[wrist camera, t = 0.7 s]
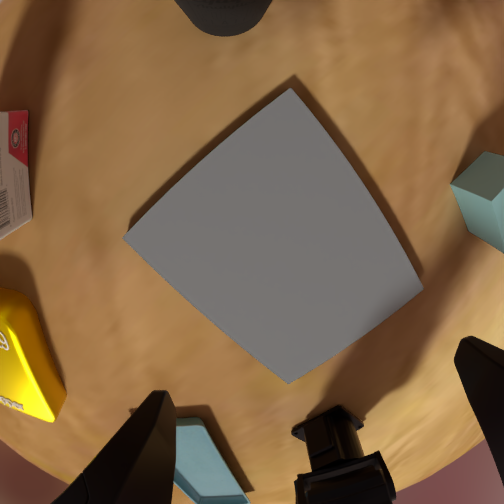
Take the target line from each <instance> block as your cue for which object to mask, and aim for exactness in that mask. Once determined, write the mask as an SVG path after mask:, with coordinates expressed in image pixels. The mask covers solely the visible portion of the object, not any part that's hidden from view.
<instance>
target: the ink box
mask: <svg viewBox="0 0 504 504" xmlns="http://www.w3.org/2000/svg"><path fill="white" fill-rule="evenodd" d="M31 219H32V210H31V201H30V189H29V175H28V110H20V111H6V112H0V240H1V239H2V238H4V237H5V236H7V235H8V234H10V233H11V232H13V231H14V230H16V229H18V228H19V227H21V226H22V225H24V224H25V223H27V222H28V221H30V220H31Z"/></svg>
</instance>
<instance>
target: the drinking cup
mask: <svg viewBox="0 0 504 504" xmlns="http://www.w3.org/2000/svg"><path fill="white" fill-rule="evenodd" d="M271 1H272V0H175V2H176V3H177V4H178V5H179V6H180V8H181V9H182V10H183V11H184V13H185V14H186V15H187V16H188V18H189V19H190V20H191V21H192V23H193V24H194V25H195V26H196V27H197V28H199V29H200V30H202V31H203V32H205V33H208V34H211V35H215V36H234V35H238V34H241V33H244V32H246V31H248V30H250V29H251V28H253V27H254V26H255V25H256V24H257V23H258V22H259V21H260V20H261V18H262V17H263V15H264V13H265V11H266V10H267V8H268V6H269V5H270V3H271Z"/></svg>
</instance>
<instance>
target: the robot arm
mask: <svg viewBox="0 0 504 504" xmlns="http://www.w3.org/2000/svg"><path fill="white" fill-rule="evenodd" d="M454 364H455V367H456V369H457V372H458V374H459V377H460V379H461V382H462V384H463V387H464V390H465V393H466V395H467V398H468V400H469V403H470V405H471V407H472V409H473V411H474V413H475V416H476V418H477V420H478V422H479V424H480V427H481V429H482V431H483V434H484V436H485V438H486V441H487V443H488V446H489V448H490V451H491V453H492V455H493V458H494V461H495V463H496V466H497V469H498V472H499V474H500V477H501V480H502V483H503V486H504V350H502V349H500V348H498V347H496V346H493V345H491V344H489V343H487V342H485V341H483V340H481V339H478V338H476V337H474V336H468V337H465V338H463V339H461V341H460V343H459V346H458V348H457V351H456V354H455V357H454ZM176 416H177V415H176V408H175V406H174V404H173V401H172V399H171V397H170V395H169V393H168V391H166V390H154V391H152V392H151V393H150V394H149V395H148V397H147V398H146V399H145V400H144V401H143V402H142V404H141V405H140V406H139V407H138V408H137V409H136V411H135V412H134V413H133V414H132V415H131V416H130V417H129V419H128V420H127V421H126V422H125V423H124V424H123V426H122V427H121V428H120V429H119V430H118V431H117V432H116V434H115V435H114V436H113V437H112V438H111V439H110V441H109V442H108V443H107V444H106V445H105V446H104V447H103V449H102V450H101V451H100V452H99V453H98V454H97V455H96V456H95V458H94V459H93V460H92V461H91V462H90V463H89V464H88V466H87V467H86V468H85V469H84V470H83V473H80V474H79V476H78V477H77V478H76V479H75V480H74V481H73V482H72V483H71V484H70V485H69V487H68V488H67V489H66V490H65V491H64V492H63V493H62V494H61V495H59V496H58V497H57V498H56V499H55V500H54V501H53V502H52V503H51V504H171V501H172V491H173V483H174V474H175V466H176ZM362 427H364V424H363V422H362V421H361V420H359V419H358V418H357V417H355V416H354V415H353V414H351V413H350V412H349V411H348V410H346V409H345V408H344V407H342V406H336V407H334V408H333V409H331V410H329V411H327V412H325V413H324V414H322V415H320V416H318V417H316V418H314V419H312V420H310V421H309V422H307V423H305V424H303V425H301V426H299V427H297V428H295V429H293V430H292V431H291V434H292V435H293V436H295V437H296V438H298V439H300V440H302V441H304V442H306V446H307V451H308V456H309V460H310V465H311V470H312V472H309V473H305V474H297V477H298V479H297V480H295V481H294V485H295V492H296V504H392V501H394V500H396V491H395V487H394V483H393V480H392V477H391V475H390V473H389V471H388V469H387V466H386V464H385V462H384V460H383V458H382V456H381V453H380V451H376V452H374V453H373V454H370V455H367V456H364V453H363V450H362V447H361V444H360V441H359V438H358V435H357V432H356V431H357V430H359V429H361V428H362Z"/></svg>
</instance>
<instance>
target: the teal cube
mask: <svg viewBox="0 0 504 504" xmlns="http://www.w3.org/2000/svg"><path fill="white" fill-rule="evenodd" d="M450 186H451V188H452V190H453V193H454V195H455V197H456V200H457V202H458V205H459V207H460V210H461V212H462V215H463V218H464V220H465V223H466V226H467V228H468V231H469V232H471V233H472V234H474V235H475V236H477V237H479V238H480V239H482V240H484V241H485V242H487V243H488V244H490V245H491V246H493V247H495V248H496V249H498V250H499V251H501V252H502V253H504V156H502V155H498V154H494V153H490V152H486V151H484V152H483V153H482V154H481V155H480V156H479V157H478V158H477V159H476V160H475V161H474V162H473V163H472V164H471V165H470V166H469V167H468V168H467V169H466V170H465V171H463V172H462V173H461V174H460V175H459V176H458V177H457V178H456V179H455V180H454V181H453V182H452V183H451V184H450Z"/></svg>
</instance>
